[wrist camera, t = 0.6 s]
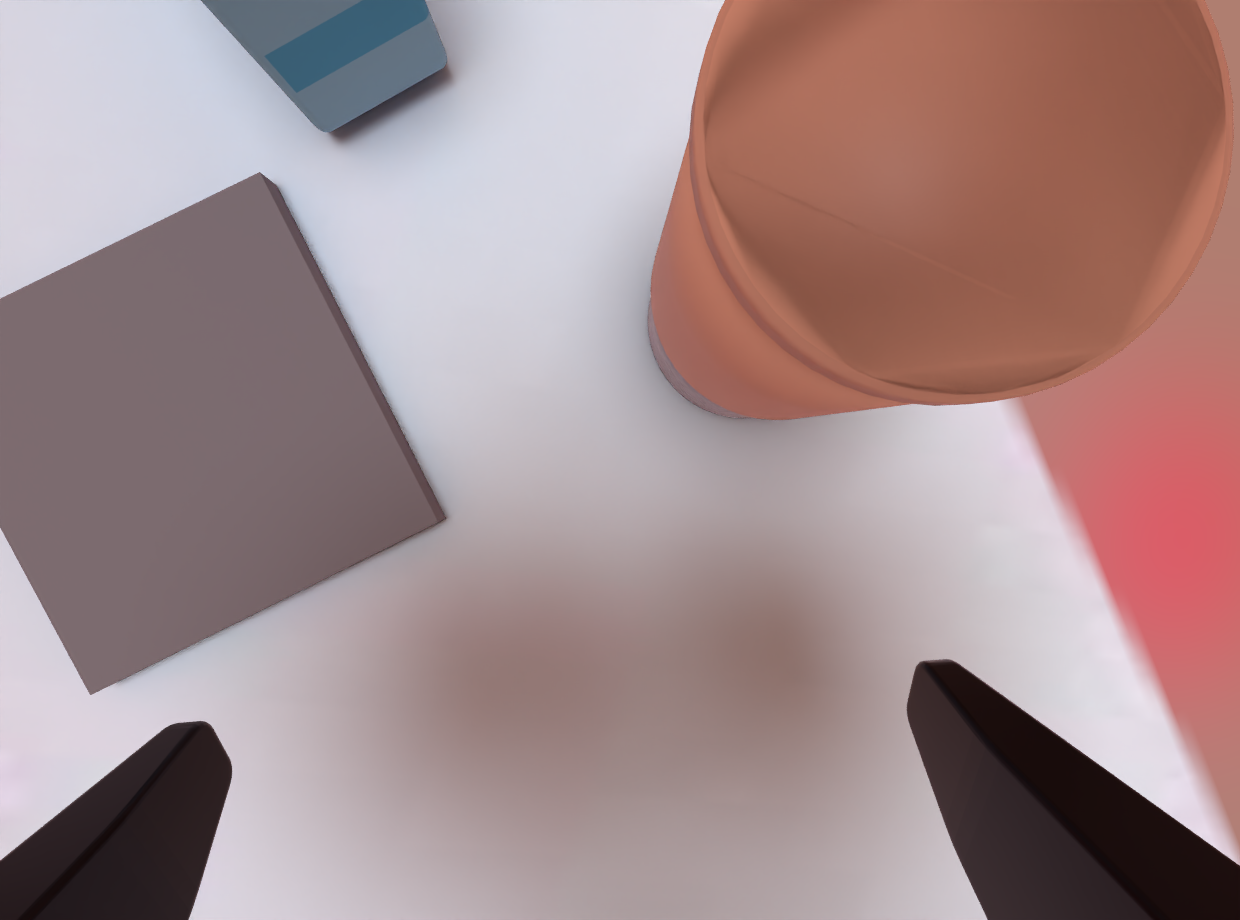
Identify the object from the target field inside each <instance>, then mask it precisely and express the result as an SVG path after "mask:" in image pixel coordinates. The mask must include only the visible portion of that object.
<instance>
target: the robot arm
mask: <svg viewBox="0 0 1240 920" xmlns="http://www.w3.org/2000/svg"><path fill="white" fill-rule="evenodd" d="M907 716H908V721H909V724H910V727H911V730H912V733H913V735H914V738H915V741H916V744H917V747H918V749H919V752H920V755H921V758H922V761H923V764H924V766H925V769H926V772H927V775H928V778H929V780H930V783H931V786H932V789H933V792H934V794H935V797H936V800H937V803H938V806H939V808H940V811H941V814H942V817H943V820H944V822H945V825H946V828H947V830H948V833H949V836H950V838H951V841H952V843H953V846H954V848H955V850H956V853H957V855H958V857H959V859H960V862H961V864H962V866H963V868H964V870H965V872H966V874H967V877H968V879H969V881H970V883H971V885H972V887H973V889H974V891H975V894H976V896H977V898H978V900H979V902H980V904H981V906H982V908H983V911H984V913H985V915H986V917H987V919H988V920H1240V866H1239V865H1238V864H1236V863H1235V862H1234V861H1232V860H1231V859H1230V858H1228V857H1227V856H1225V855H1224V854H1223V853H1221V852H1220V851H1218V850H1217V849H1216V848H1214V847H1213V846H1211V845H1210V844H1209V843H1207V842H1206V841H1204V840H1203V839H1202V838H1200V837H1199V836H1198V835H1196V834H1195V833H1193V832H1192V831H1191V830H1189V829H1188V828H1186V827H1185V826H1184V825H1182V824H1181V823H1179V822H1178V821H1177V820H1175V819H1174V818H1172V817H1171V816H1170V815H1168V814H1167V813H1166V812H1164V811H1163V810H1161V809H1160V808H1159V807H1157V806H1156V805H1154V804H1153V803H1152V802H1150V801H1149V800H1147V799H1146V798H1145V797H1143V796H1142V795H1140V794H1139V793H1138V792H1136V791H1135V790H1134V789H1132V788H1131V787H1129V786H1128V785H1127V784H1125V783H1124V782H1122V781H1121V780H1120V779H1118V778H1117V777H1115V776H1114V775H1113V774H1111V773H1110V772H1108V771H1107V770H1106V769H1104V768H1103V767H1102V766H1100V765H1099V764H1097V763H1096V762H1095V761H1093V760H1092V759H1090V758H1089V757H1088V756H1086V755H1085V754H1083V753H1082V752H1081V751H1079V750H1078V749H1076V748H1075V747H1074V746H1072V745H1071V744H1070V743H1068V742H1067V741H1065V740H1064V739H1063V738H1061V737H1060V736H1058V735H1057V734H1056V733H1054V732H1053V731H1051V730H1050V729H1049V728H1047V727H1046V726H1044V725H1043V724H1042V723H1040V722H1039V721H1038V720H1036V719H1035V718H1033V717H1032V716H1031V715H1029V714H1028V713H1026V712H1025V711H1024V710H1022V709H1021V708H1019V707H1018V706H1017V705H1015V704H1014V703H1012V702H1011V701H1010V700H1008V699H1007V698H1006V697H1004V696H1003V695H1001V694H1000V693H999V692H997V691H996V690H994V689H993V688H992V687H990V686H989V685H987V684H986V683H985V682H983V681H982V680H980V679H979V678H978V677H976V676H975V675H974V674H972V673H971V672H969V671H968V670H967V669H965V668H964V667H962V666H961V665H960V664H958V663H956V662H954V661H952V660H949V659H942V660H930V661H922V662H920V663H919V664H918V665H917V666H916V669H915V672H914V676H913V681H912V685H911V689H910V693H909V698H908V702H907ZM231 778H232V765H231V761H230V758H229V757H228V755H227V753H226V751H225V749H224V747H223V746H222V744H221V742H220V740H219V738H218V736H217V735H216V733H215V731H214V729H213V727H212V726H211V725H210V724H208V723H207V722H204V721H197V722H184V723H176V724H172V725H170V726H168V727H166V728H165V729H163V730H162V731H161V732H160V733H158V734H157V735H156V736H155V737H153V738H152V739H151V740H150V741H148V742H147V743H146V744H145V745H143V746H142V747H141V748H140V749H138V750H137V751H136V752H135V753H133V754H132V755H131V756H130V757H128V758H127V759H126V760H125V761H123V762H122V763H121V764H120V765H118V766H117V767H116V768H115V769H114V770H112V771H111V772H110V773H109V774H107V775H106V776H105V777H104V778H102V779H101V780H100V781H99V782H97V783H96V784H95V785H94V786H92V787H91V788H90V789H89V790H87V791H86V792H85V793H84V794H82V795H81V796H80V797H79V798H77V799H76V800H75V801H74V802H72V803H71V804H70V805H69V806H67V807H66V808H65V809H64V810H63V811H61V812H60V813H59V814H58V815H56V816H55V817H54V818H53V819H51V820H50V821H49V822H48V823H46V824H45V825H44V826H43V827H41V828H40V829H39V830H38V831H36V832H35V833H34V834H33V835H31V836H30V837H29V838H28V839H26V840H25V841H24V842H23V843H21V844H20V845H19V846H18V847H16V848H15V849H14V850H13V851H11V852H10V853H9V854H8V855H7V856H5V857H4V858H3V859H2V860H0V920H188V919H189V917H190V914H191V912H192V908H193V905H194V902H195V899H196V896H197V893H198V890H199V887H200V884H201V880H202V877H203V874H204V870H205V867H206V864H207V860H208V857H209V854H210V850H211V847H212V843H213V840H214V837H215V833H216V830H217V827H218V823H219V820H220V817H221V813H222V810H223V807H224V803H225V800H226V797H227V793H228V790H229V787H230V783H231Z"/></svg>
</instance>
